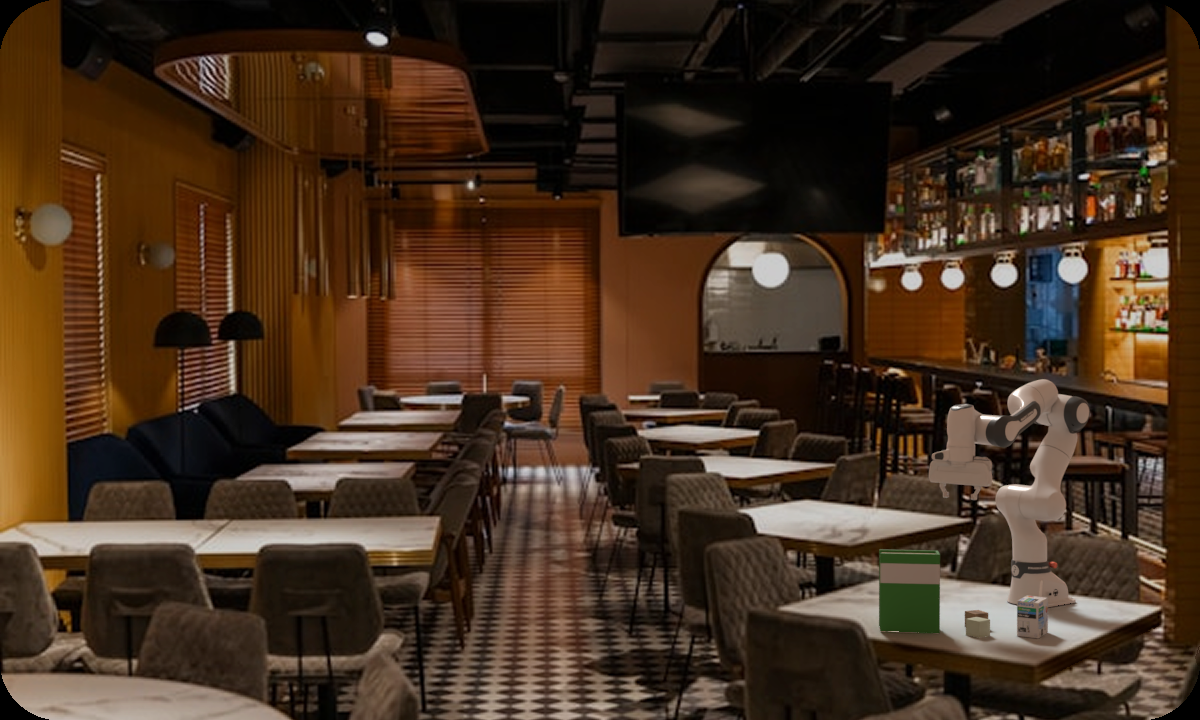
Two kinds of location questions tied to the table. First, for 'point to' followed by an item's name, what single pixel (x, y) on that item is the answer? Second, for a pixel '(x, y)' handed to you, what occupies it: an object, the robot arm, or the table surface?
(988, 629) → the sage cube
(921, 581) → the green upright box
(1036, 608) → the light bulb box
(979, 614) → the walnut cube
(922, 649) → the table surface
